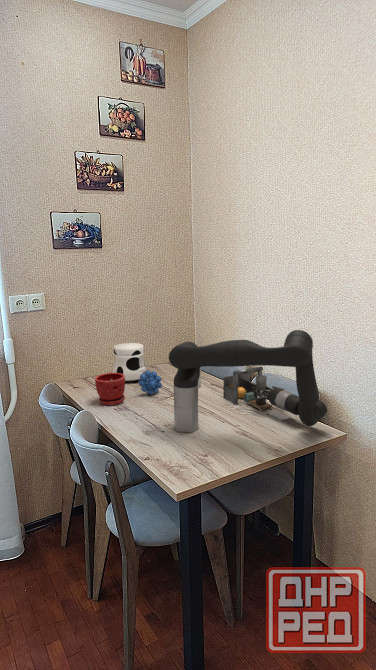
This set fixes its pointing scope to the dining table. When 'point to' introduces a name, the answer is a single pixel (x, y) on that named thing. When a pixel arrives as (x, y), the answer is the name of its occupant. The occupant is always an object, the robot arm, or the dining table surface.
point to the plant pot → (110, 388)
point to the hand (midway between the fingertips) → (257, 388)
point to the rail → (275, 414)
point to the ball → (241, 392)
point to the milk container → (129, 361)
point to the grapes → (150, 382)
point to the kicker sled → (260, 385)
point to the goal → (239, 383)
